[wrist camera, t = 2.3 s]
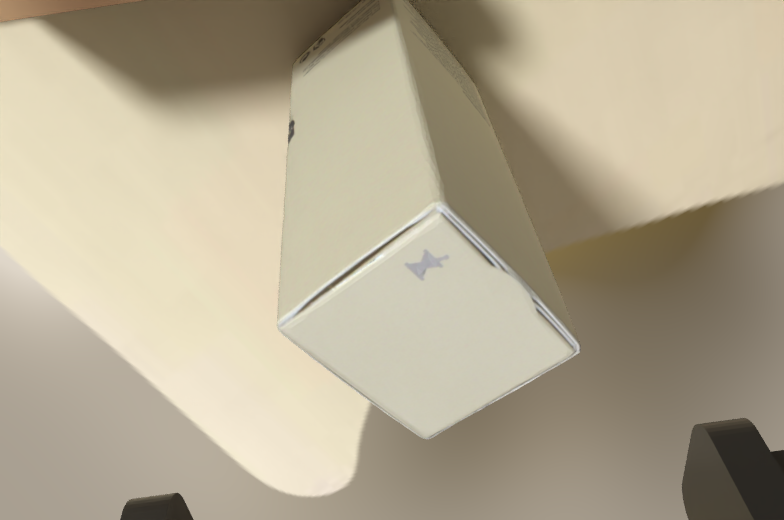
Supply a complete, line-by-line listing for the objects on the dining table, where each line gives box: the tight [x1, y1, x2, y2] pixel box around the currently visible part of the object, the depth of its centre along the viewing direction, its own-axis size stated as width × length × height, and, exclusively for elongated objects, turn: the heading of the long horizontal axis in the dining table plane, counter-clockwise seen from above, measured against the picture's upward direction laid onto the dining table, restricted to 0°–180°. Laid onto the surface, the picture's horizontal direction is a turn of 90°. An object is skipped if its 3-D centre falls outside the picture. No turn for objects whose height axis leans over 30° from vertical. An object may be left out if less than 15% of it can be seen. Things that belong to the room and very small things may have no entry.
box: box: [277, 0, 581, 439], centre depth 20 cm, size 5×4×13 cm
